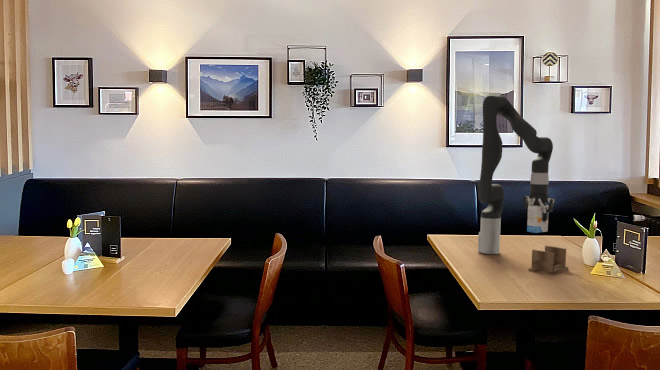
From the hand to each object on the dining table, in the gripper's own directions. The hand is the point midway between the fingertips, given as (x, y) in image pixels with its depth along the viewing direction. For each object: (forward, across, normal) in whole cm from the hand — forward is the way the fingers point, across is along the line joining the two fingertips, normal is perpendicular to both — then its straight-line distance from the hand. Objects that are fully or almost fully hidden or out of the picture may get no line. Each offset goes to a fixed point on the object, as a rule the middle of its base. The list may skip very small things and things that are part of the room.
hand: (537, 220), depth 265 cm
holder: (+20, +8, -6) cm, 22 cm away
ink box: (+5, 0, 0) cm, 5 cm away
